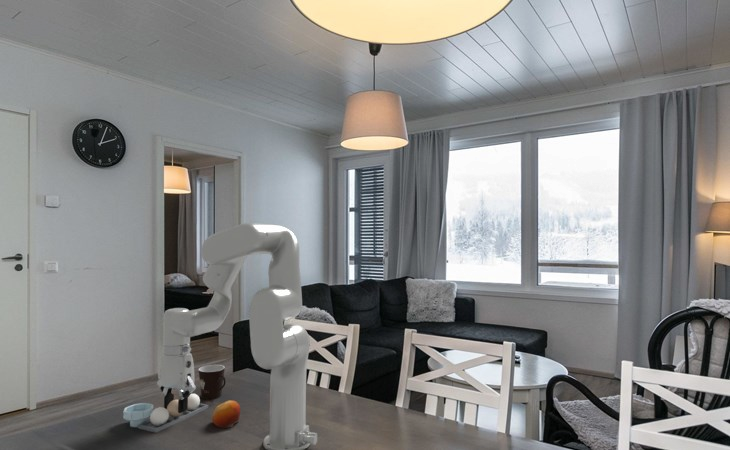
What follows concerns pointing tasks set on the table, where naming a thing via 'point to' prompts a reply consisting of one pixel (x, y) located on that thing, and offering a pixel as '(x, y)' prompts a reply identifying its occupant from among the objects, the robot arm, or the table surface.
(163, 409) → the white egg
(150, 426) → the egg tray
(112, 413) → the table surface
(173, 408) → the egg brown
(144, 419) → the egg cup
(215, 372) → the coffee mug
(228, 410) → the fruit
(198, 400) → the white egg
